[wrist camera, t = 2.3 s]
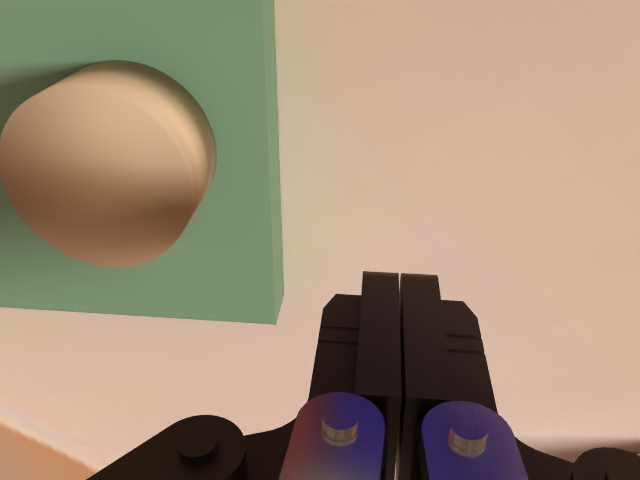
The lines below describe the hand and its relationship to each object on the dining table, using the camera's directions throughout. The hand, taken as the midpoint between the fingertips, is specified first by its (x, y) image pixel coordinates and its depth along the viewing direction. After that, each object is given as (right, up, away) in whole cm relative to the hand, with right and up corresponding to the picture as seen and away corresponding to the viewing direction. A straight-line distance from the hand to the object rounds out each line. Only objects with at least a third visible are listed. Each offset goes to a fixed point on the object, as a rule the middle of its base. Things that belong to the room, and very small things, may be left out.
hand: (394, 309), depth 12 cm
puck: (-8, +5, +7) cm, 12 cm away
